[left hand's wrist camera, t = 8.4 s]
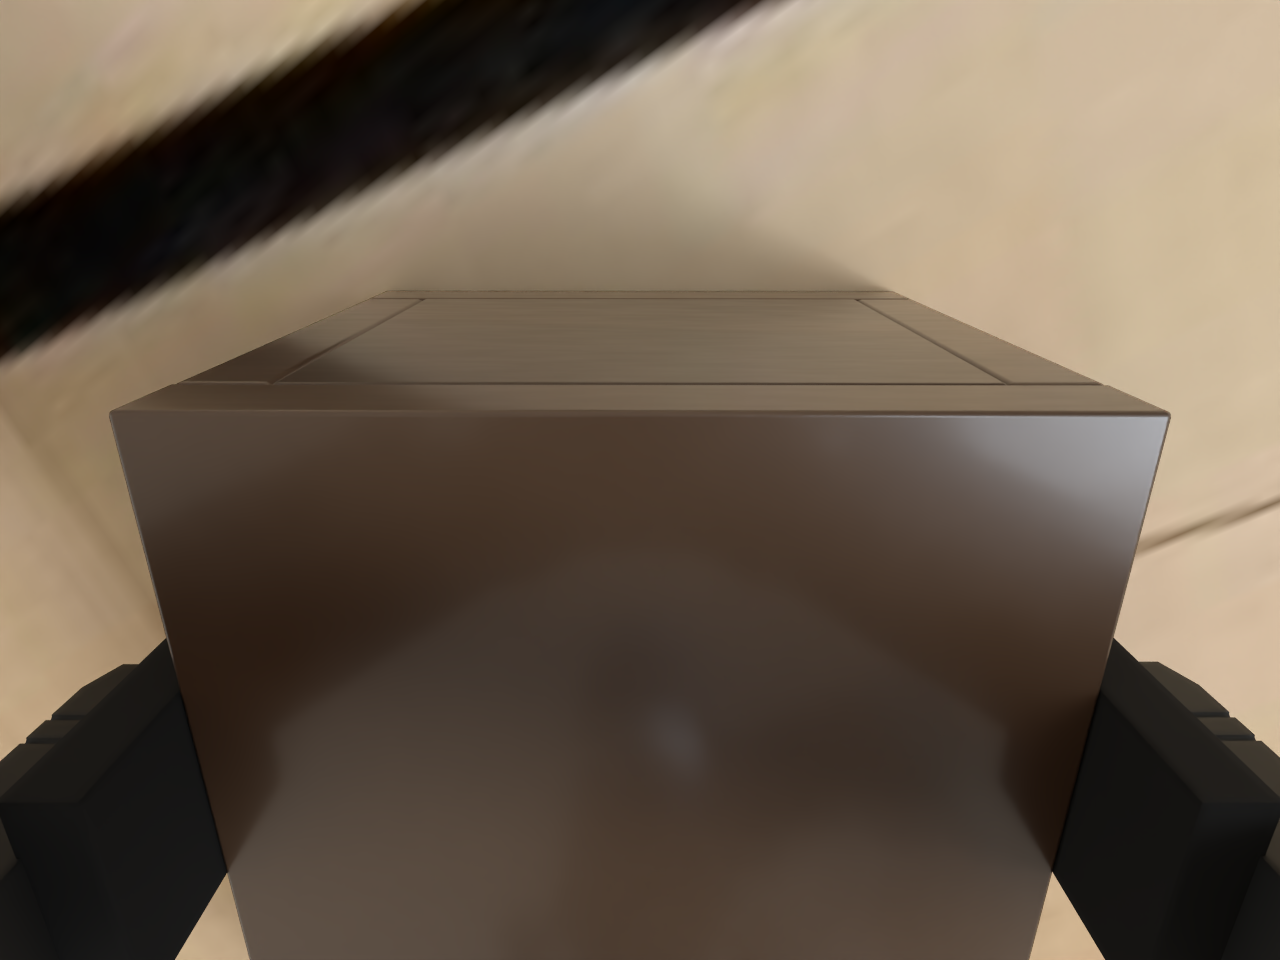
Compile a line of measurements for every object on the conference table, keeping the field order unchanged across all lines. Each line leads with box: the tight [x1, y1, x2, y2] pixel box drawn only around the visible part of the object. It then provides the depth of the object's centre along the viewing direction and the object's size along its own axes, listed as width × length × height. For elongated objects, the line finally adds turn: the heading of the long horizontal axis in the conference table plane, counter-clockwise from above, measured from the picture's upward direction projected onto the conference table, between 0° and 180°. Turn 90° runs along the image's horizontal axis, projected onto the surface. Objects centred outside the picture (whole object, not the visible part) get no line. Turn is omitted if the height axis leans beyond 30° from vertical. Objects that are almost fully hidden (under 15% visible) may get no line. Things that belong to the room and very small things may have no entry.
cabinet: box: [109, 291, 1171, 960], centre depth 15 cm, size 20×10×9 cm, turn 0°
